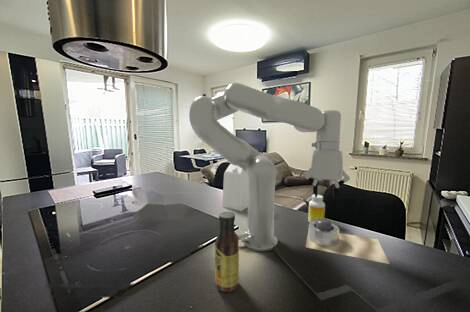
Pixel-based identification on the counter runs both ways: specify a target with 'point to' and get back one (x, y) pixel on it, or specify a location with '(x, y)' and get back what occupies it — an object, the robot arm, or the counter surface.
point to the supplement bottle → (316, 208)
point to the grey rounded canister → (323, 224)
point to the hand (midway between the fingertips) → (325, 196)
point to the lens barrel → (323, 235)
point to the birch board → (354, 248)
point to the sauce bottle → (226, 254)
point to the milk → (235, 188)
